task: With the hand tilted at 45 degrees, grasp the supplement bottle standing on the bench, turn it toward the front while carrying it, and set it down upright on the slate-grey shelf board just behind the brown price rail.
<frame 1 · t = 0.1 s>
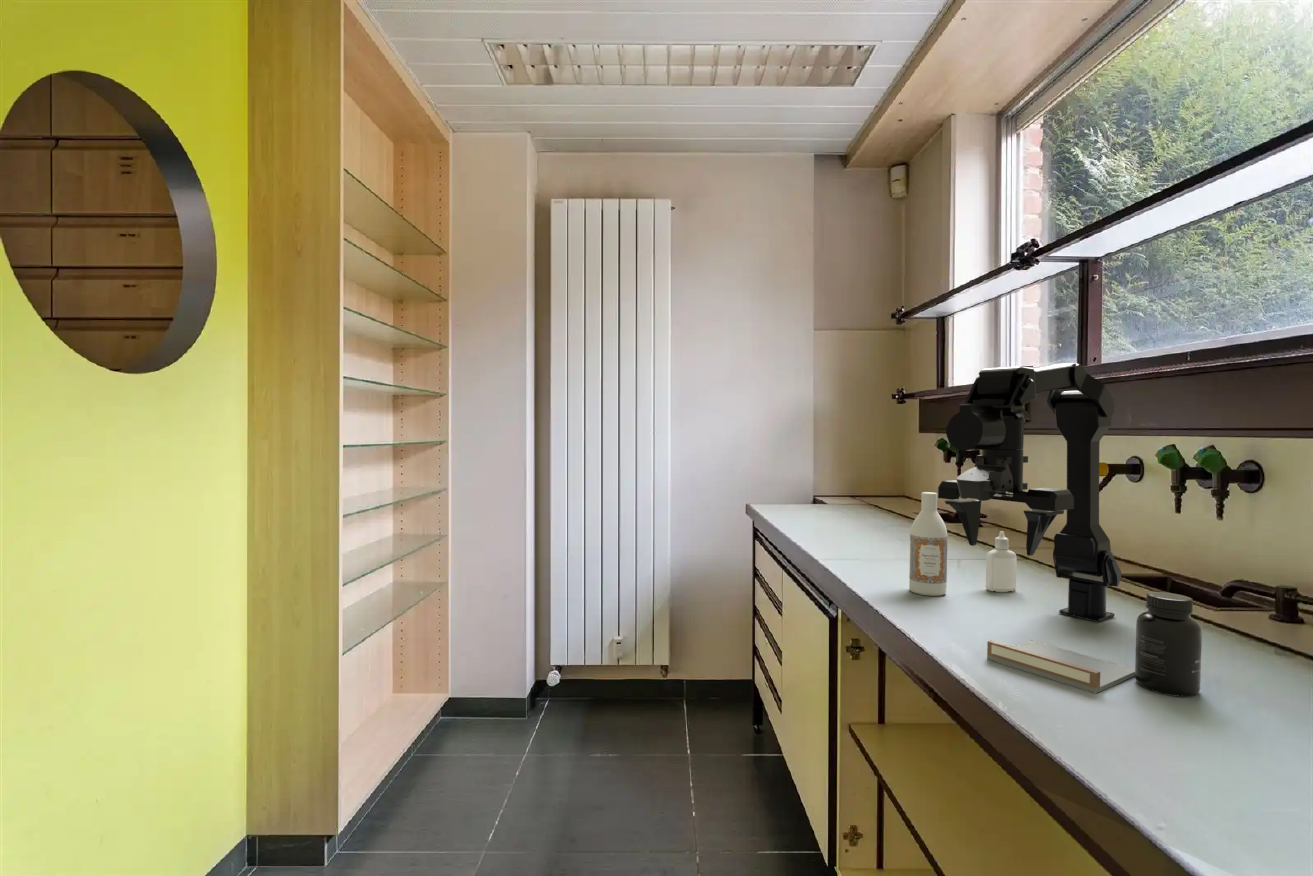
hand: (1000, 550, 104), 15 cm above the worktop, tool pointing down, fingers open, 9 cm apart
eye dropper bottle: (1000, 591, 138), on the worktop
supplement bottle: (1166, 689, 88), on the worktop
shelf board: (1060, 666, 95), on the worktop
bath foam: (927, 593, 136), on the worktop
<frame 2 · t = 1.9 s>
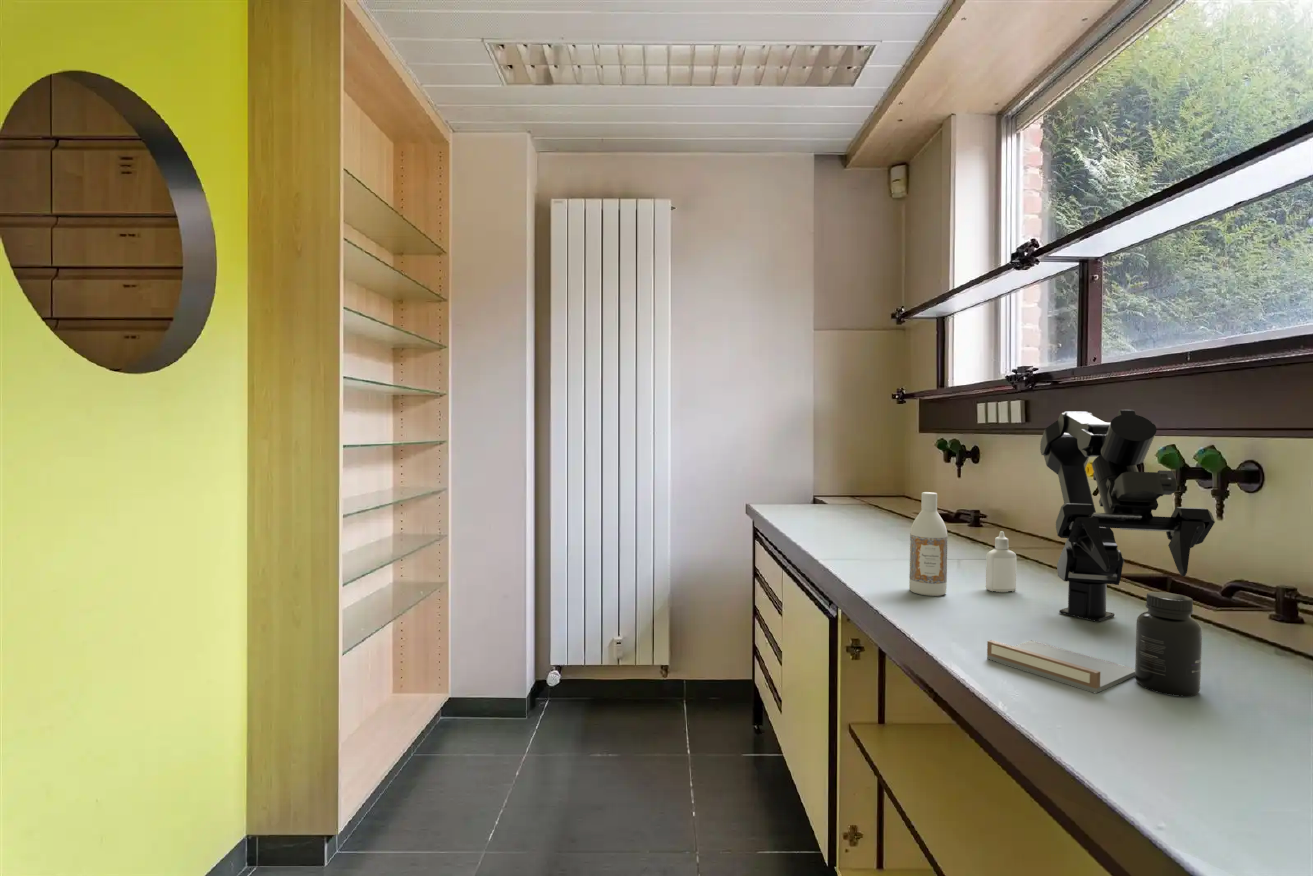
hand: (1145, 572, 95), 13 cm above the worktop, tool tilted 45°, fingers open, 9 cm apart
nothing on the worktop moved.
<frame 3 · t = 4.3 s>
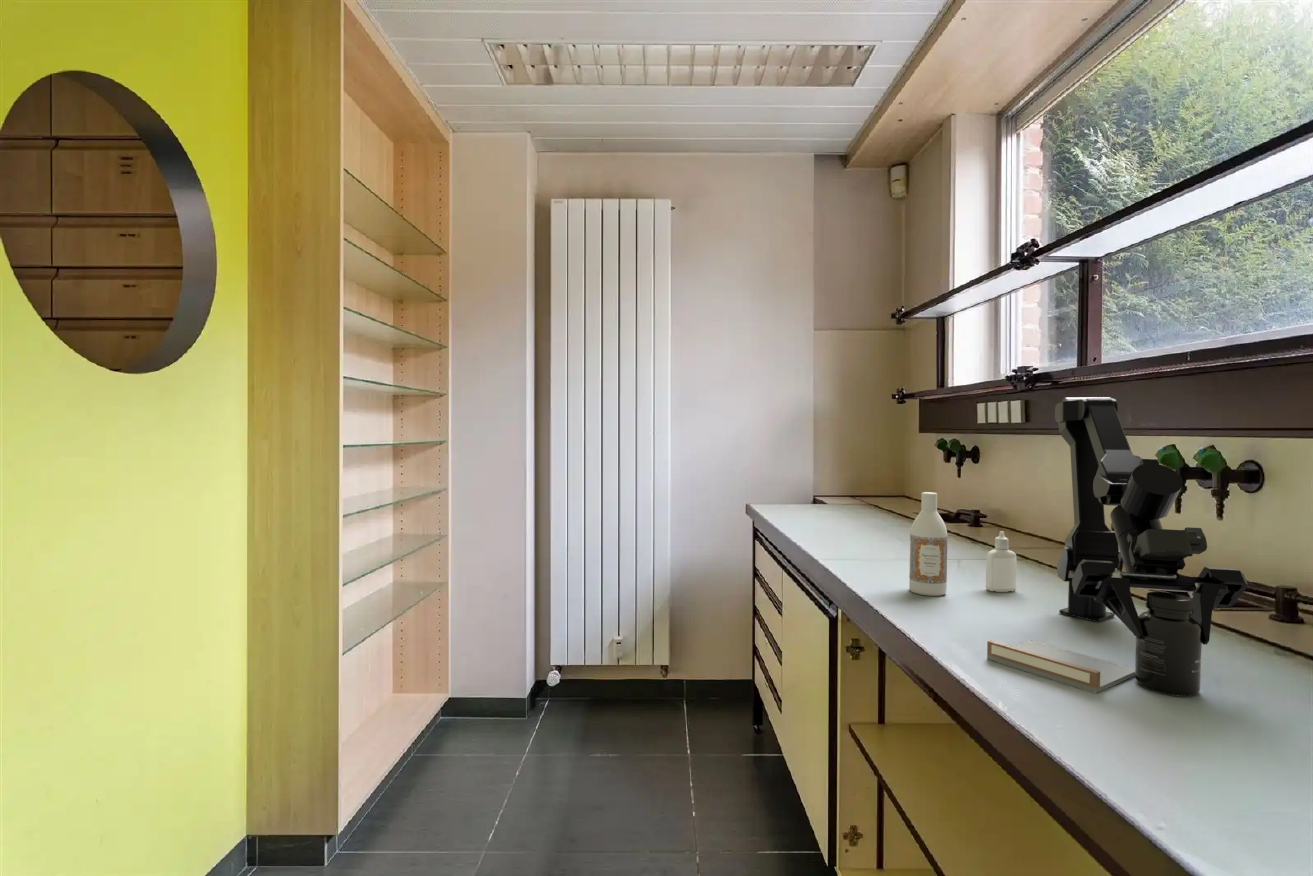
hand: (1173, 640, 87), 7 cm above the worktop, tool tilted 45°, fingers closed on supplement bottle, 7 cm apart
supplement bottle: (1166, 688, 88), on the worktop, touching gripper
everything else where it was.
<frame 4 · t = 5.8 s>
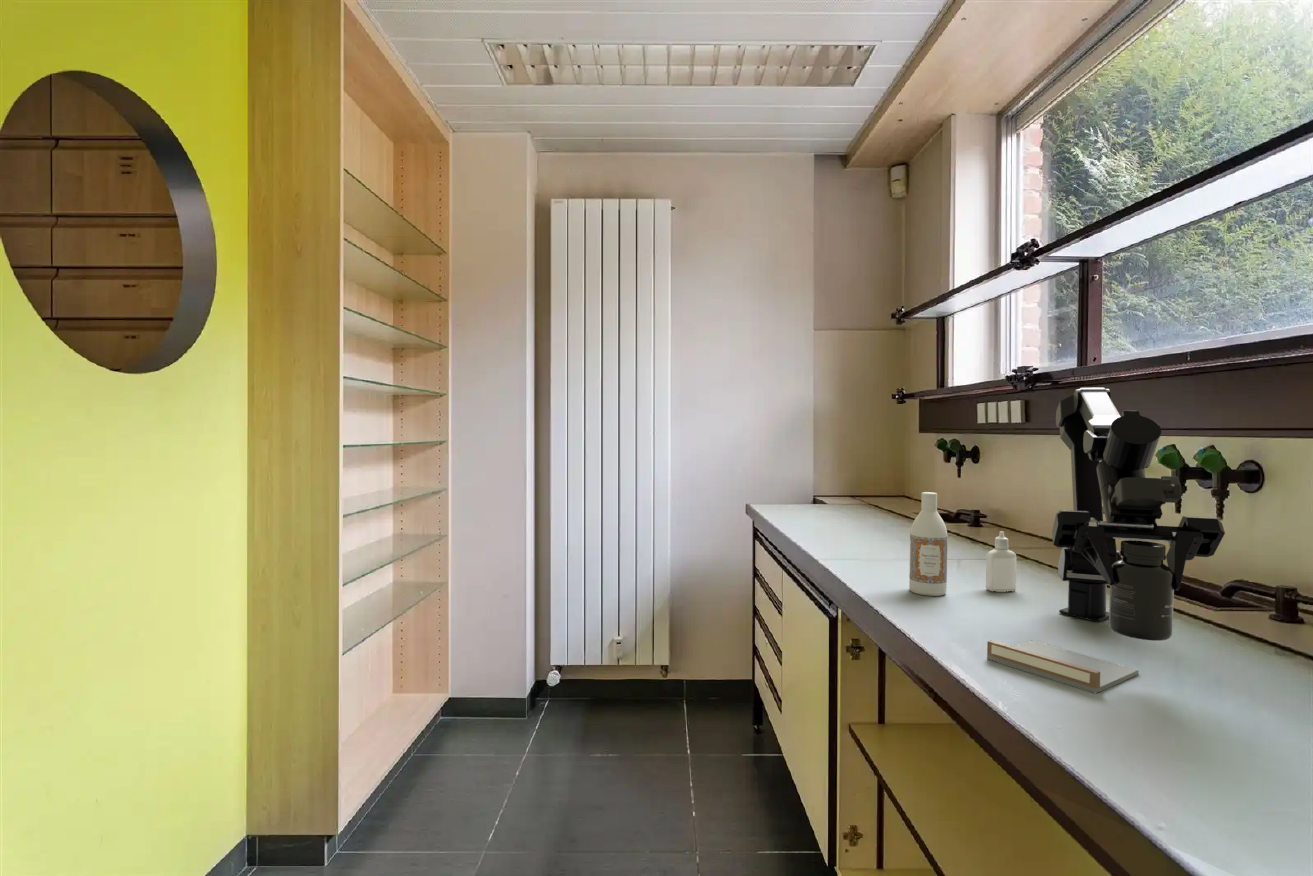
hand: (1144, 586, 88), 13 cm above the worktop, tool tilted 45°, fingers closed on supplement bottle, 7 cm apart
supplement bottle: (1139, 635, 89), point 6 cm above the worktop, touching gripper
everything else where it was.
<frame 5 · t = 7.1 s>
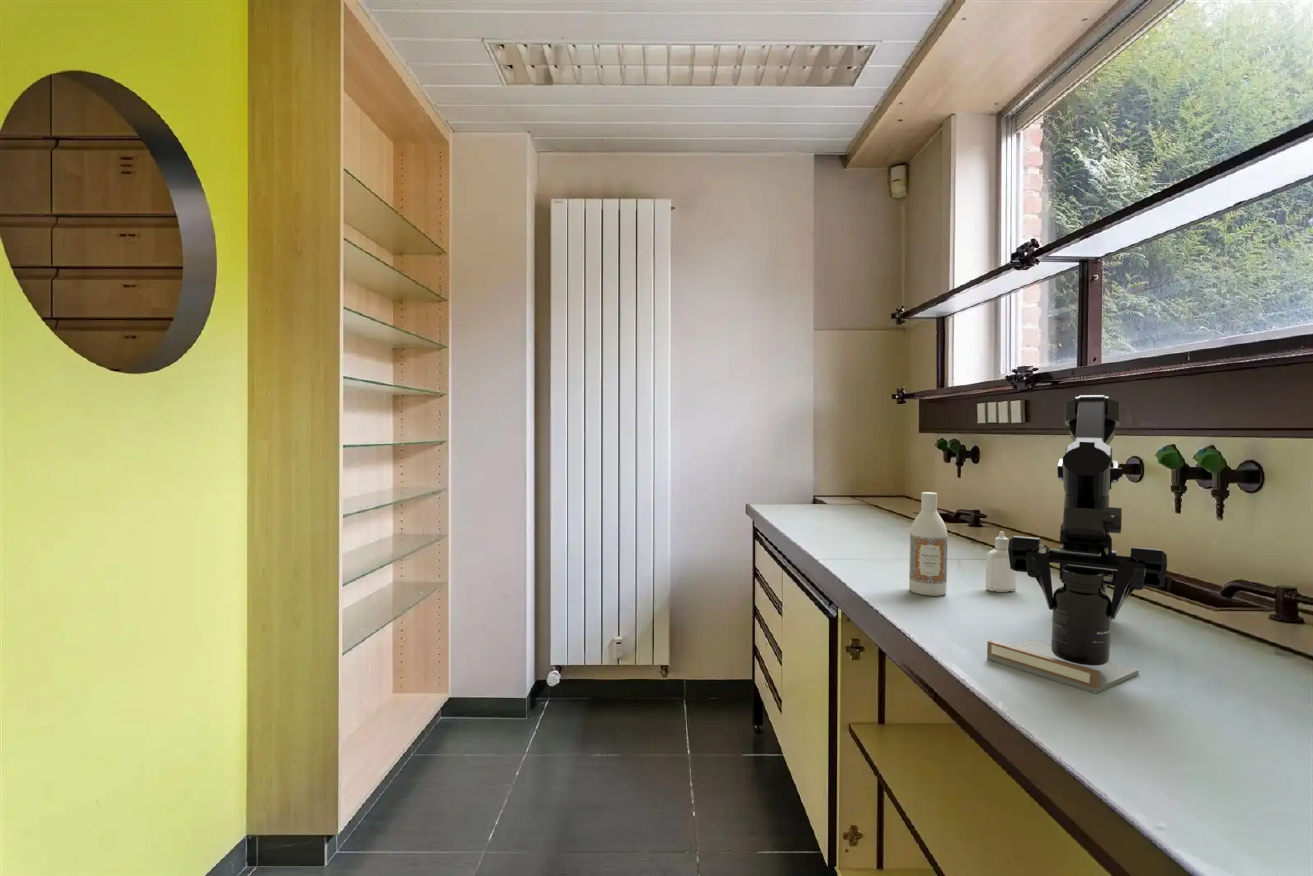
hand: (1081, 612, 91), 9 cm above the worktop, tool tilted 45°, fingers closed on supplement bottle, 7 cm apart
supplement bottle: (1079, 659, 93), point 2 cm above the worktop, touching gripper
everything else where it was.
when the fingers open (8 cm above the worktop, at t = 7.7 s): supplement bottle stays where it is, resting on shelf board.
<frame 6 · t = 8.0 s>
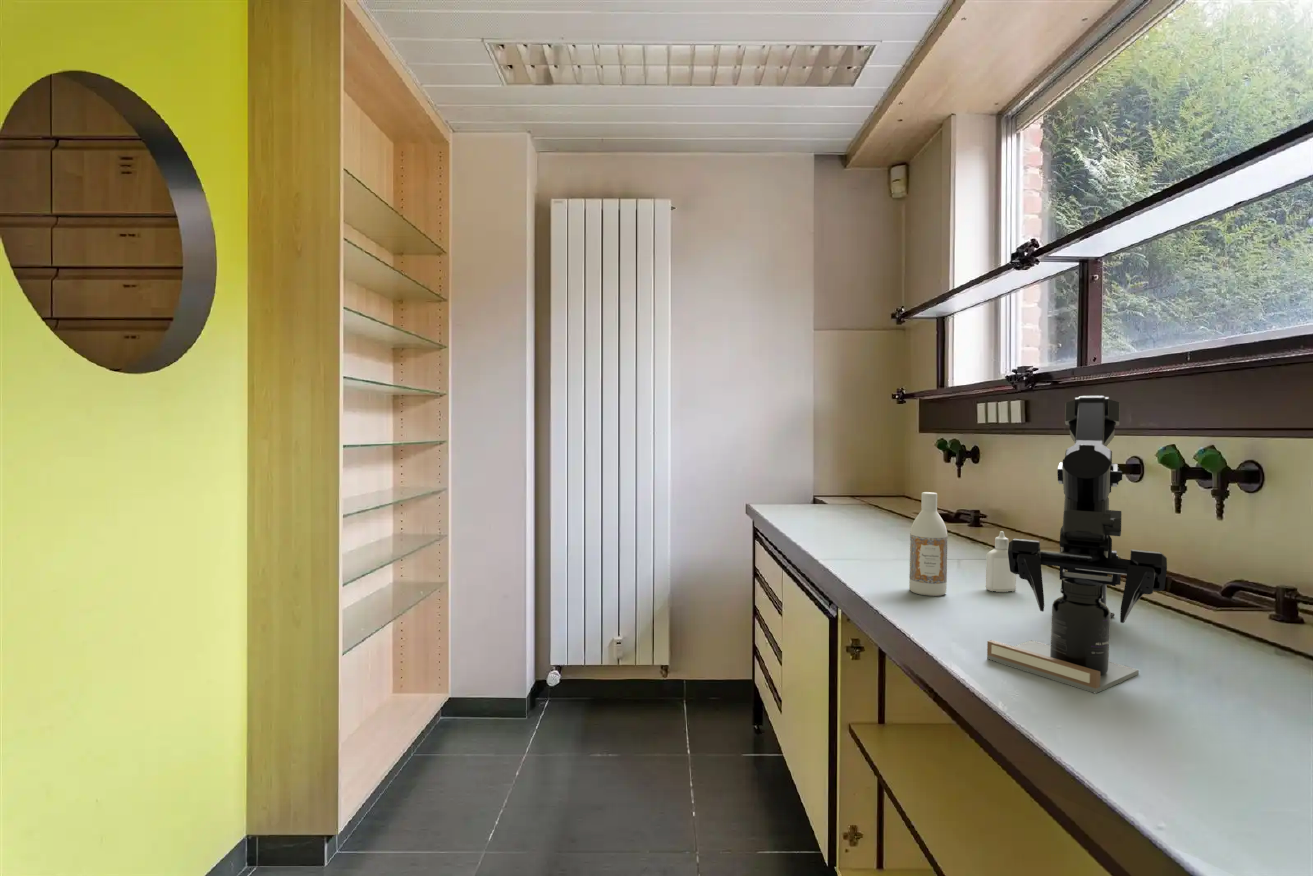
hand: (1080, 615, 91), 8 cm above the worktop, tool tilted 45°, fingers open, 9 cm apart
supplement bottle: (1078, 669, 93), resting on shelf board
everything else where it was.
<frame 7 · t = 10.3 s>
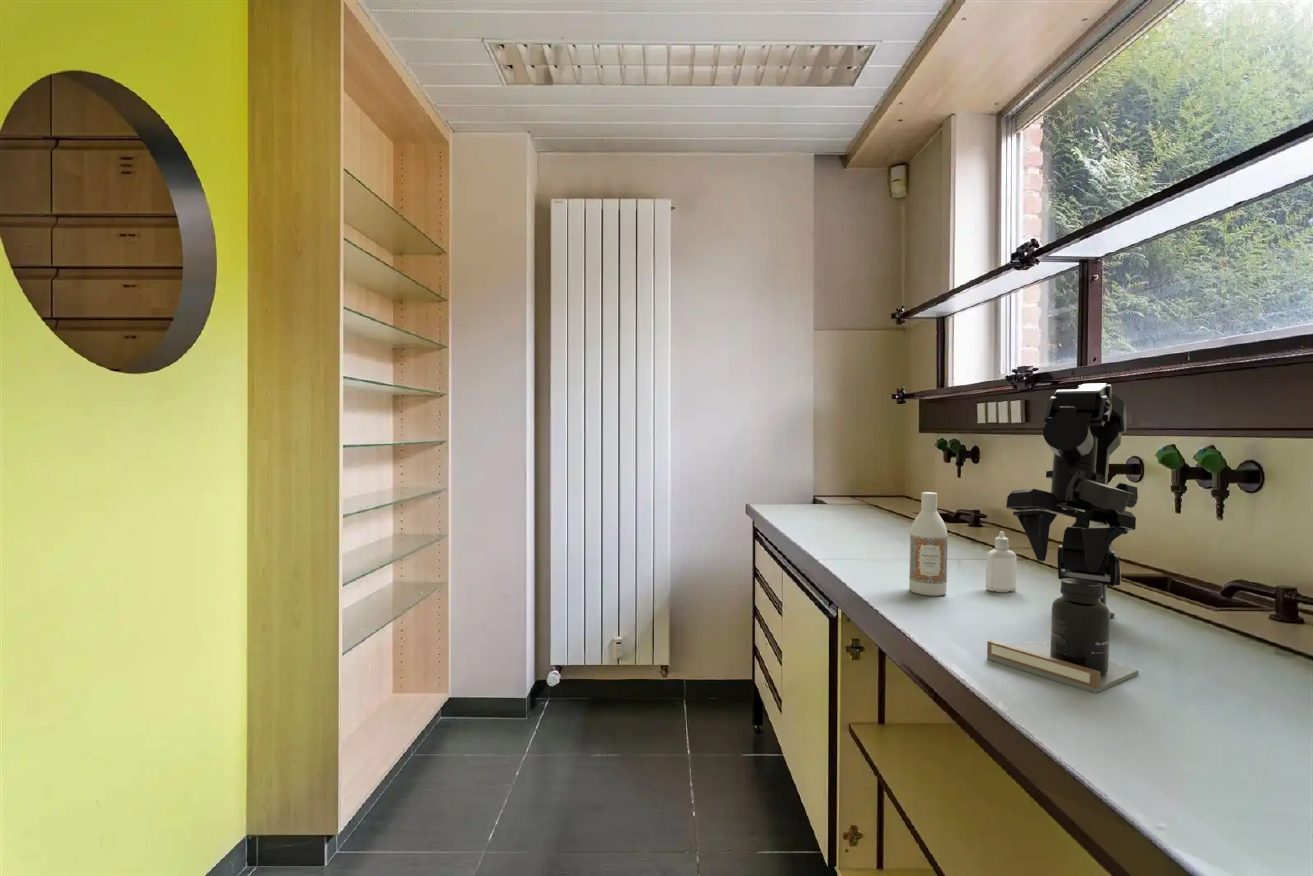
hand: (1066, 566, 103), 12 cm above the worktop, tool tilted 15°, fingers open, 9 cm apart
nothing on the worktop moved.
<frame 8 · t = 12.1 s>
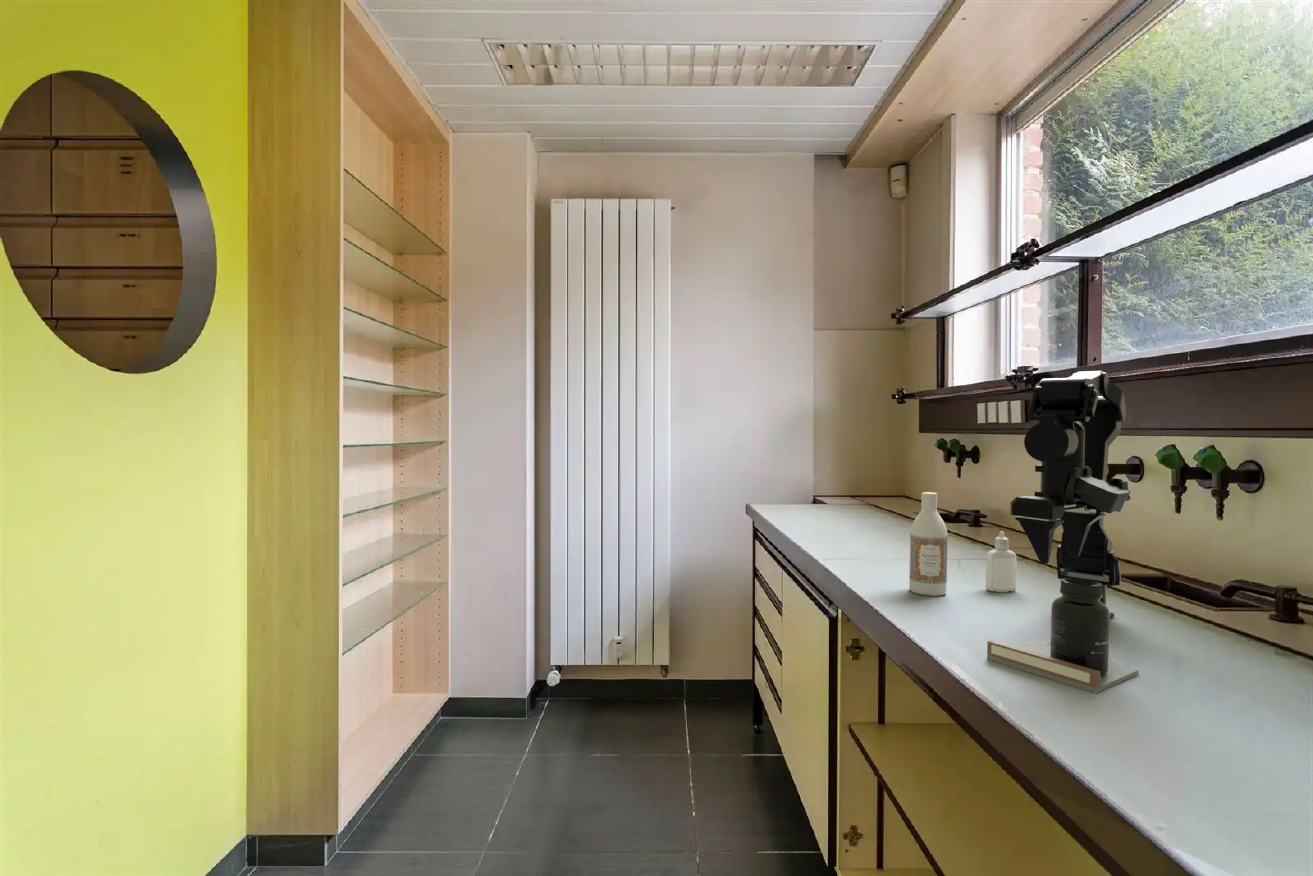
hand: (1059, 560, 105), 13 cm above the worktop, tool pointing down, fingers open, 9 cm apart
nothing on the worktop moved.
at the end: supplement bottle inside the target area (1.5 cm from its centre), resting on shelf board; supplement bottle tilted 0°; supplement bottle moved 9.7 cm from its start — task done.
